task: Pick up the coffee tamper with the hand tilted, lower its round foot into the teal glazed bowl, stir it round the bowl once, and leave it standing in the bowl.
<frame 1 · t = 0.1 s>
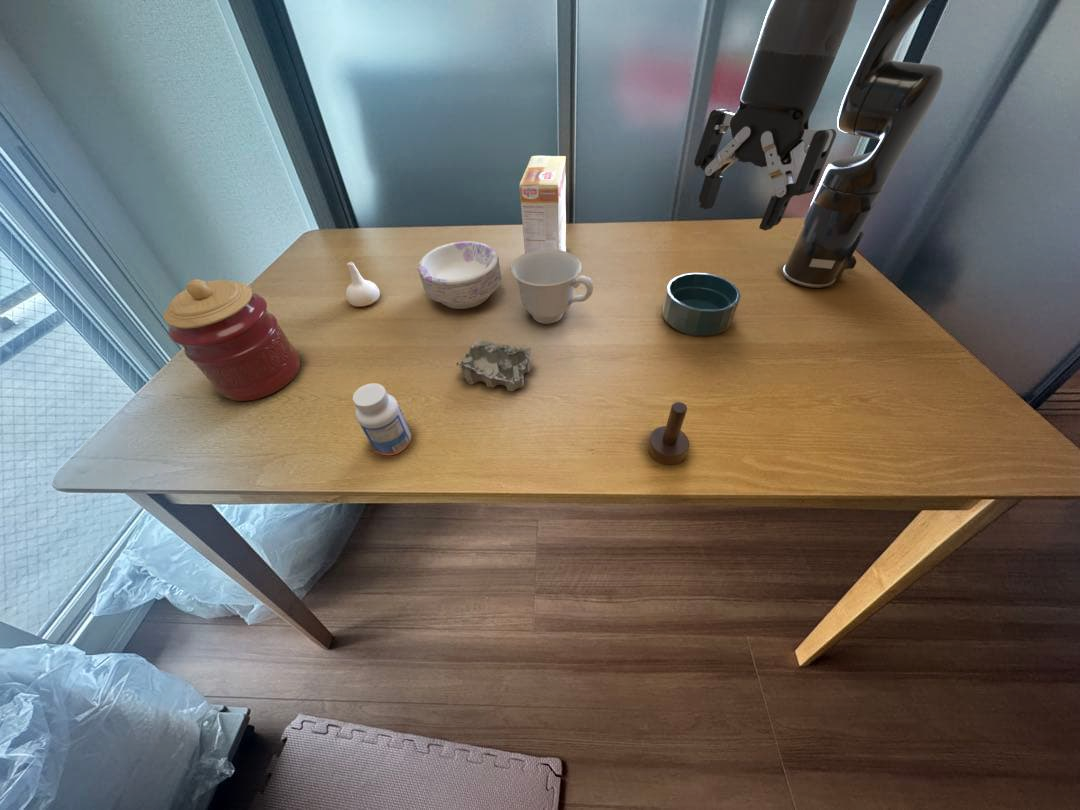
hand: (734, 217, 52), 22 cm above the table, tool pointing down, fingers open, 8 cm apart
paper bowls: (465, 297, 84), on the table
egg carton: (497, 373, 68), on the table
kitchen canister: (262, 375, 70), on the table
pill bottle: (393, 442, 59), on the table
bowl: (695, 317, 75), on the table
garlic bulb: (366, 301, 84), on the table
coffee tamper: (666, 449, 56), on the table
teacup: (554, 317, 78), on the table
coffeecake box: (547, 268, 90), on the table
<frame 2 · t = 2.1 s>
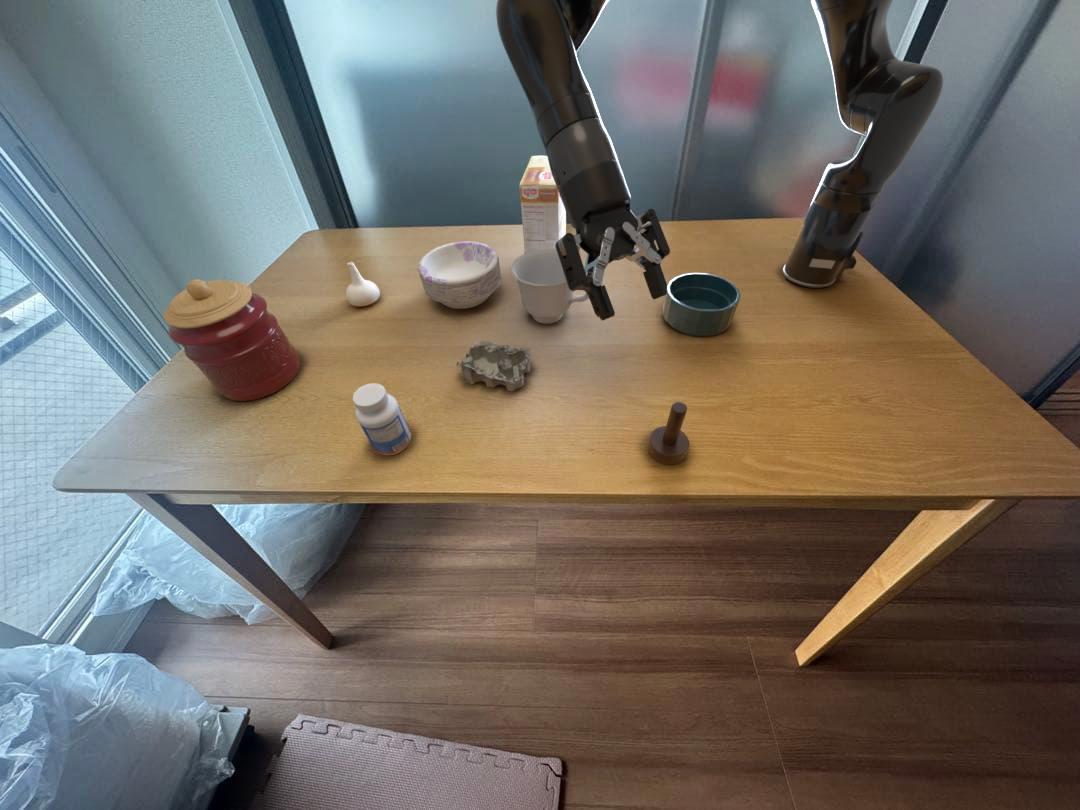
hand: (635, 307, 51), 16 cm above the table, tool tilted 45°, fingers open, 8 cm apart
nothing on the table moved.
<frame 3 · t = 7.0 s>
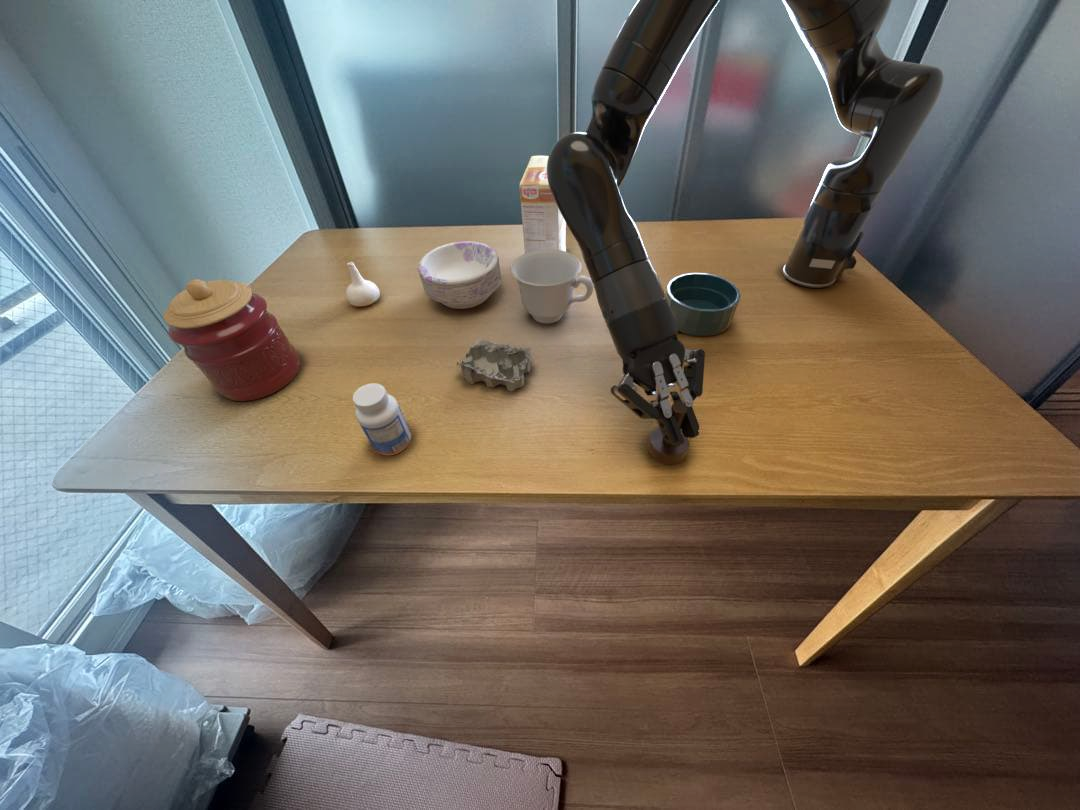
hand: (684, 439, 51), 4 cm above the table, tool tilted 45°, fingers closed on coffee tamper
coffee tamper: (666, 449, 56), on the table, touching gripper
everything else where it was.
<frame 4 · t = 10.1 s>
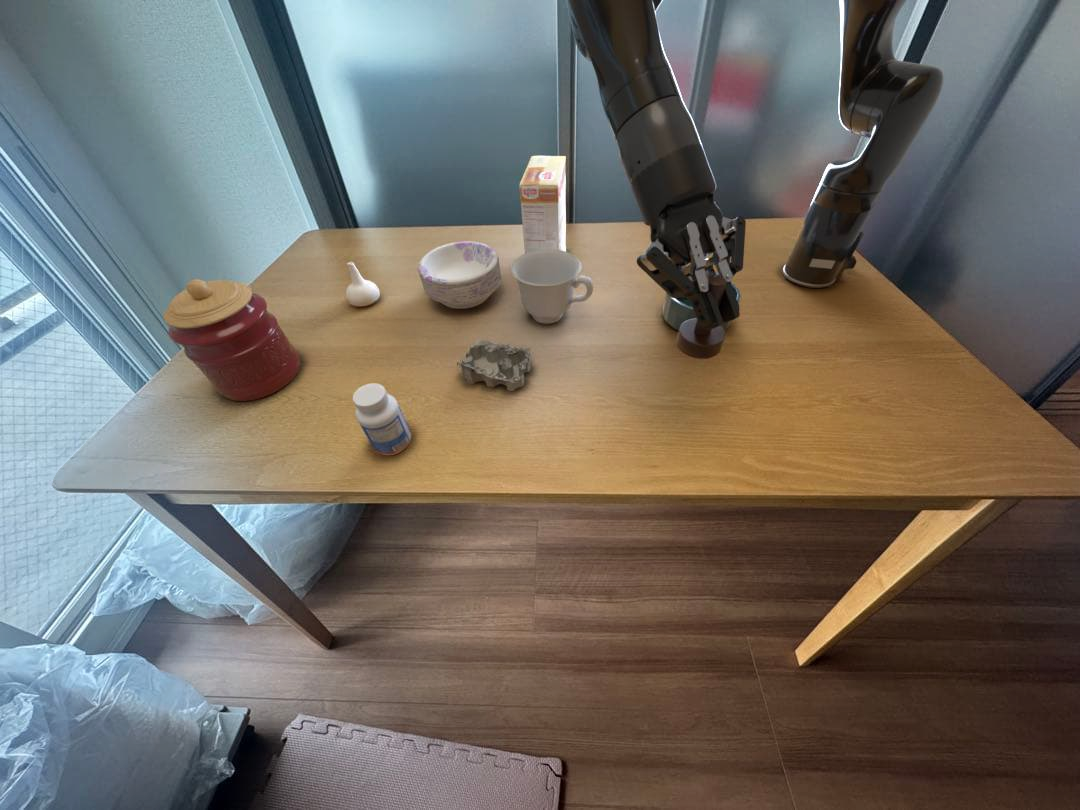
hand: (722, 323, 44), 19 cm above the table, tool tilted 45°, fingers closed on coffee tamper
coffee tamper: (698, 345, 49), point 14 cm above the table, touching gripper
everything else where it was.
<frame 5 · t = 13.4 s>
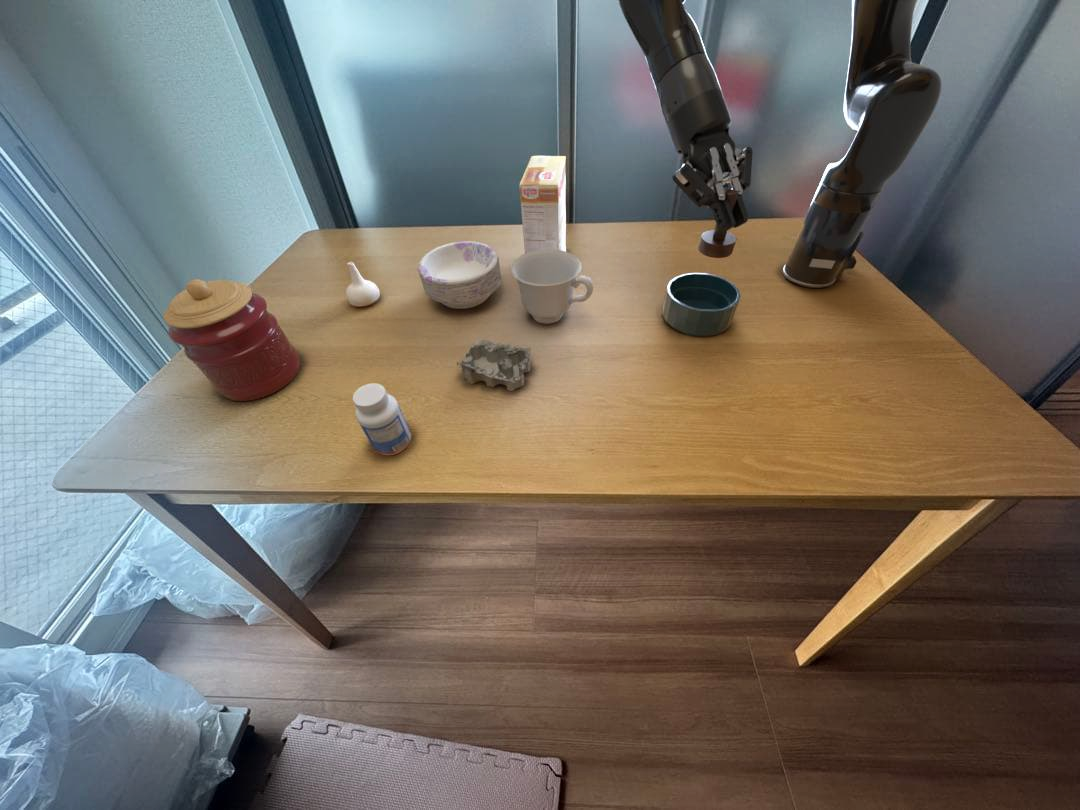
hand: (734, 226, 59), 18 cm above the table, tool tilted 45°, fingers closed on coffee tamper
coffee tamper: (715, 250, 64), point 14 cm above the table, touching gripper
everything else where it was.
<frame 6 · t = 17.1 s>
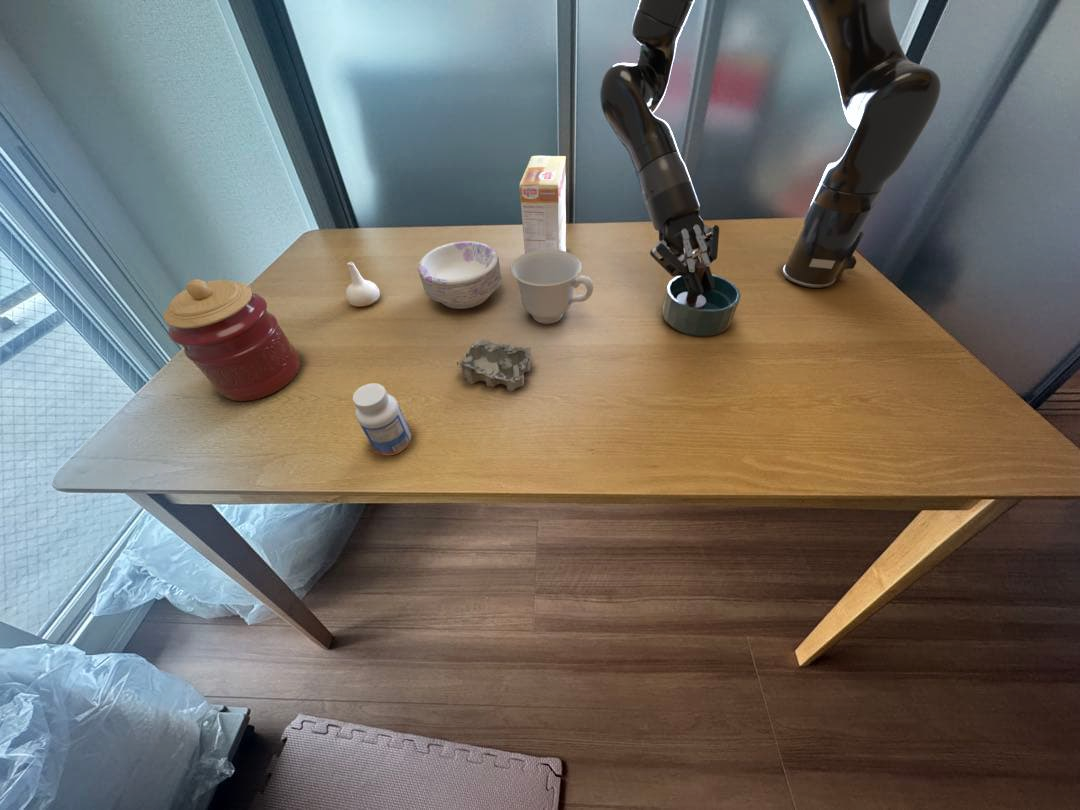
hand: (703, 293, 69), 6 cm above the table, tool tilted 45°, fingers closed on coffee tamper
coffee tamper: (688, 309, 74), point 2 cm above the table, touching gripper
everything else where it was.
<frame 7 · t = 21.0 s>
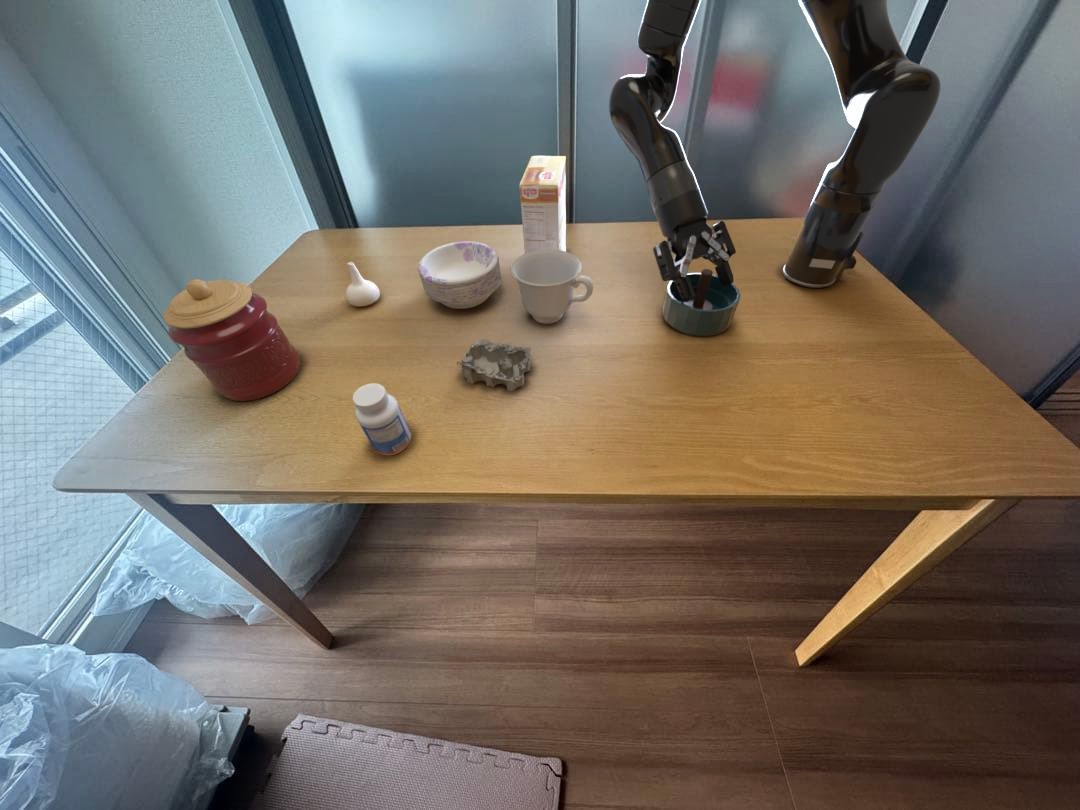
hand: (709, 292, 70), 6 cm above the table, tool tilted 45°, fingers open, 8 cm apart
coffee tamper: (695, 314, 75), point 1 cm above the table, touching bowl
everything else where it was.
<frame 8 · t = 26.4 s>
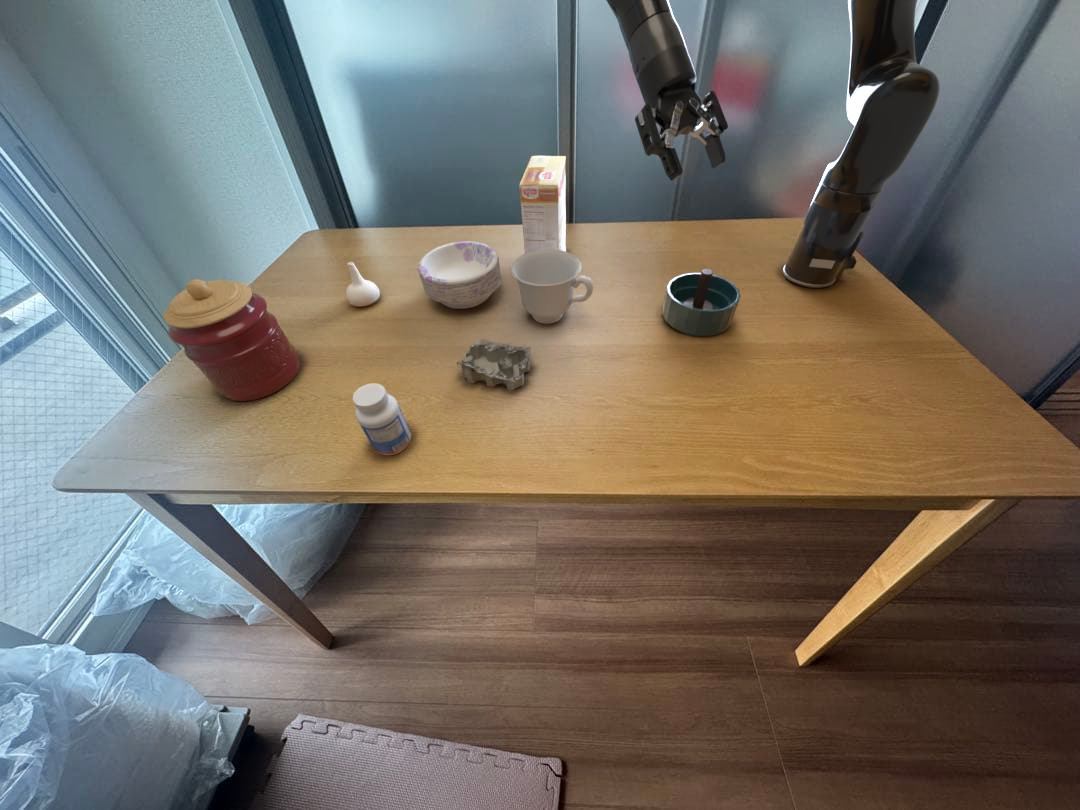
hand: (698, 171, 63), 23 cm above the table, tool tilted 45°, fingers open, 8 cm apart
nothing on the table moved.
at the end: coffee tamper 0.2 cm off-centre in the bowl, point 0.6 cm above the bowl's base; coffee tamper tilted 0°; the gripper is holding nothing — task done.
